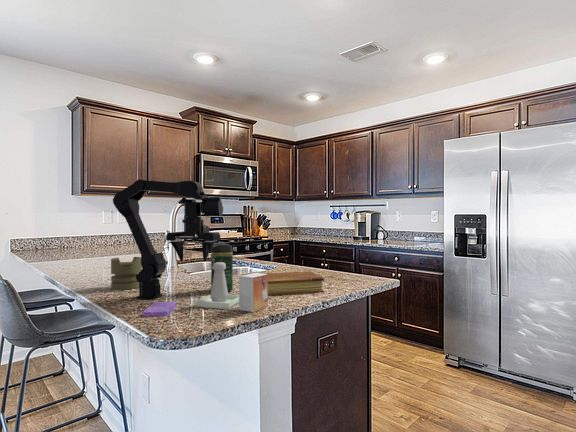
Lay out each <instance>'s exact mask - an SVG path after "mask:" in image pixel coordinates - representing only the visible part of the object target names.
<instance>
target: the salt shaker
mask: <svg viewBox="0 0 576 432" xmlns="http://www.w3.org/2000/svg"><path fill="white" fill-rule="evenodd" d="M225 269H226V264H225V263H223V262H217V263H214V264H213V270H215V271H214V277H213V283H212V289H211V288H210V294H209V295H210V296H211V299H212V301H213V302H226V300H227V298H228V294H229V291H228V290H227V285H226V279H225V273H224V270H225Z"/></svg>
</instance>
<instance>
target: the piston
mask: <svg viewBox="0 0 576 432" xmlns="http://www.w3.org/2000/svg"><path fill="white" fill-rule="evenodd" d="M141 270H142V266H141V256H133V259H132V261H121V260H120V257H114V258H111V259H110V274H111V275H112V276H111V277H110V281H111V283H110V289H112V290H111V291H113V290H129V291H133V290H132V289H135V290H139V282H137V279H136V275H137V274H138V273H139V272H140V271H141Z"/></svg>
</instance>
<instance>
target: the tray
mask: <svg viewBox="0 0 576 432" xmlns="http://www.w3.org/2000/svg"><path fill="white" fill-rule="evenodd" d="M210 295H211V294H208V295H205V296H204V297H202V298H199V299H198V300H195V308H207V309H221V310H230V309H232V308H234V307H235V306H237V305H239V294H229V293H228V298H227V300H226V302H213V301H212V299H211V296H210Z"/></svg>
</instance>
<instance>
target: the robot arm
mask: <svg viewBox="0 0 576 432" xmlns="http://www.w3.org/2000/svg"><path fill="white" fill-rule="evenodd" d="M147 192H159V193H171V194H177V195H179V196H183V197H182V198H181V199H180V200H179V201H178V202H177V203H178V204H179V205H184V207H183V209H184V212H183V214H184V219H182V223H183V224H184V231H175V232H167V233H166V235H165V242H166V241H168V243H169V244H170V245H172V247H173V248H174V250H175V252H176V254H177V256H178V258H179V260H180V261H181V262H183V261H184V254H185V253H184V245H185V243H186V240H203V241H202V242H201V247H202V259H203V262H207V260H208V257H209V254H210V253H211V247H212V245H214V244H215V243H218V241H221V234H220V232H217V231H210V230H211V227H209V226H207V225H206V224H205V223H204V219H202V215H204V217H205V218H206V217H207V218H208V217H222V216H223V213H224V205H223V202H222V197H219V196H215V197H208V196H207V195H206V193H205V192H204V188H203V186H202V184H201V183H200V182H197V181H193V180H181V181H176V182H170V181H169V182H168V181H161V180H159V181H158V180H157V181H156V180H147V179H141V178H140V179H137V180H135V181H134V182H132V184H131V185H128V186H127V187H125V188H123V190H121V191H119V192H117V193H115V194H114V196H113V198H112V204H113V205H114V207H115V208H116V210H117V212H118V213H119V214H121V215H122V217H124V219H125V220H126V221H125V222H126V223H127V225H128V228H129V229H130V232H131V234H132V236H133V239H134V241H135V243H136V245H137V249H138V251H139V252H140V257H141V266H142V270H141V271H140V272H139V273H138V274H137V275H136V279H137V282H139V289H138V293H139V294H138V296H136V299H141V300H153V299H156V298H159V297H161V296H163V293H161V282H160V279H161V278H162V275H163V274H164V272H165V271H166V269H167V264H166V263H168V262H167V260H166V259H165V257H164V256H165V255H164V253H163V252H162V251H159V252H158V251H156V249H155V248H154V245H153V244H152V240H151V238H150V237H149V234H148V232H147V229H146V226H145V225H144V223H143V220H142V218H141V216H140V204H139V201H140V200H141V199H143V197H144V196H145V194H146V193H147ZM187 198H188V199H187ZM190 198H191V199H190ZM197 200H198V201H197Z"/></svg>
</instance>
